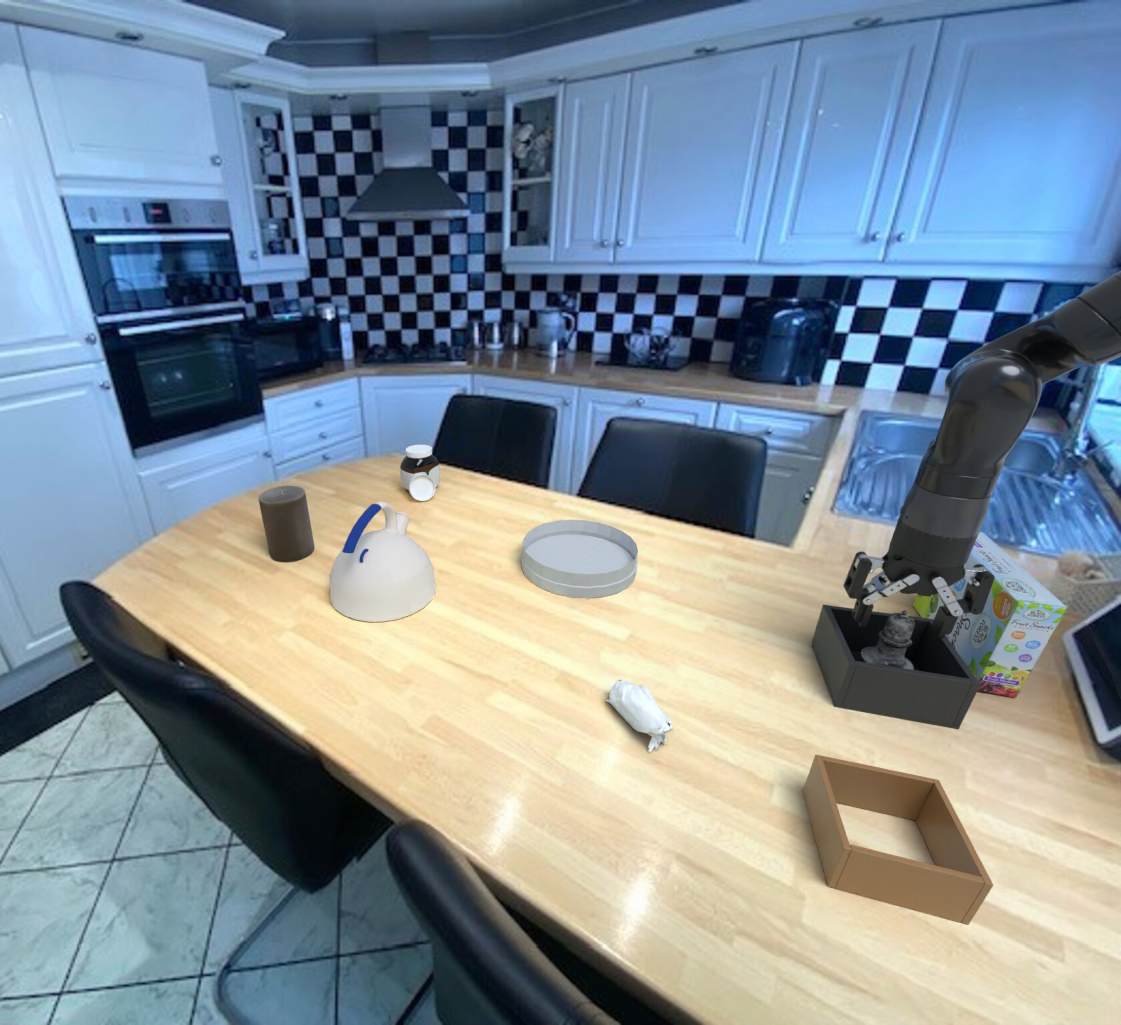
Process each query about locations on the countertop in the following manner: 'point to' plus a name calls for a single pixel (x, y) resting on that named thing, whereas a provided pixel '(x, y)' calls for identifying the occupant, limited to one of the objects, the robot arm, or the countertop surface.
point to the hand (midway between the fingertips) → (898, 628)
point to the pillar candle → (286, 523)
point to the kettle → (381, 571)
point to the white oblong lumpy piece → (640, 711)
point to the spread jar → (420, 472)
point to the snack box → (1001, 621)
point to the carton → (886, 877)
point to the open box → (892, 671)
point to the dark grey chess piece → (892, 643)
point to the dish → (579, 558)
